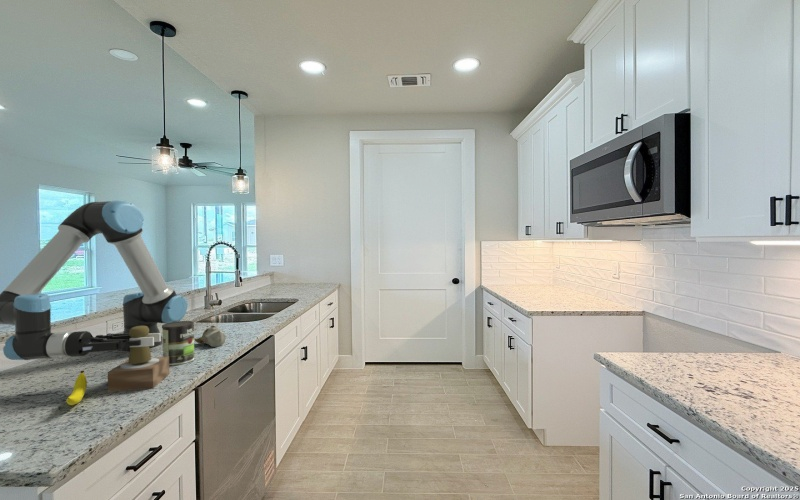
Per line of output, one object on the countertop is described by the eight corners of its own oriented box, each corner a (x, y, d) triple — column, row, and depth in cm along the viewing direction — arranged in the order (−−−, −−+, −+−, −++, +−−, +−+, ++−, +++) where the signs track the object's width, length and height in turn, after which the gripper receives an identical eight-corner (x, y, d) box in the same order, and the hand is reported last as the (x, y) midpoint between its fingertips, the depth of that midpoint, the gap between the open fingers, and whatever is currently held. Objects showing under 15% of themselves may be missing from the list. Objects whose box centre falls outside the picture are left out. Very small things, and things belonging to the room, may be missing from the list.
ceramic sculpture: (205, 329, 147) (192, 326, 157) (206, 350, 147) (193, 345, 157) (232, 324, 155) (217, 321, 165) (232, 344, 155) (218, 340, 165)
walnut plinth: (129, 377, 119) (128, 358, 119) (169, 373, 122) (169, 355, 122) (108, 391, 108) (107, 371, 107) (153, 388, 110) (152, 367, 110)
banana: (61, 418, 92) (60, 394, 91) (76, 392, 107) (75, 371, 107) (76, 415, 93) (75, 391, 93) (89, 390, 109) (88, 369, 109)
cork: (126, 365, 110) (125, 329, 110) (130, 359, 116) (129, 325, 115) (150, 361, 113) (149, 327, 113) (152, 356, 119) (152, 323, 118)
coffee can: (201, 357, 139) (200, 321, 139) (180, 366, 129) (179, 327, 129) (178, 355, 141) (177, 320, 141) (155, 364, 131) (154, 326, 131)
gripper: (89, 348, 119) (168, 343, 124) (51, 365, 102) (144, 359, 107) (89, 325, 119) (167, 321, 124) (50, 339, 102) (143, 334, 107)
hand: (156, 339), depth 115 cm, fingers closed on cork, 4 cm apart
